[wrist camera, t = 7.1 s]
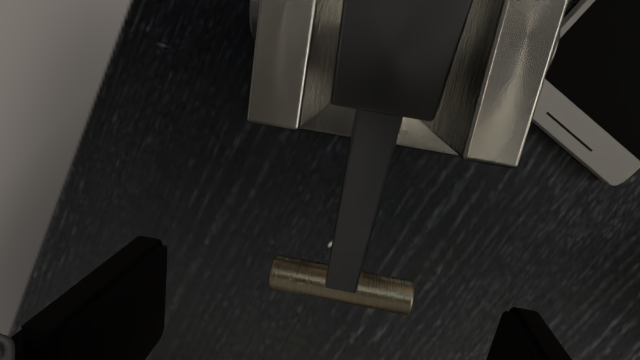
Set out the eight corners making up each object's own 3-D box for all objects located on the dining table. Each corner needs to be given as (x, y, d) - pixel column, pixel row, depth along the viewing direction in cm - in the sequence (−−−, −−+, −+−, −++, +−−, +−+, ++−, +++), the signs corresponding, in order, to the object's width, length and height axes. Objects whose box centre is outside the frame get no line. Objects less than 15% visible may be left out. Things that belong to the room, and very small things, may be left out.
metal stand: (463, 153, 20) (626, 287, 7) (268, 119, 20) (117, 189, 8) (509, -22, 17) (858, -254, 5) (289, -53, 18) (123, -327, 6)
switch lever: (406, 280, 15) (406, 338, 13) (280, 255, 15) (263, 308, 14) (533, -39, 8) (571, -12, 6) (296, -73, 8) (266, -56, 7)
